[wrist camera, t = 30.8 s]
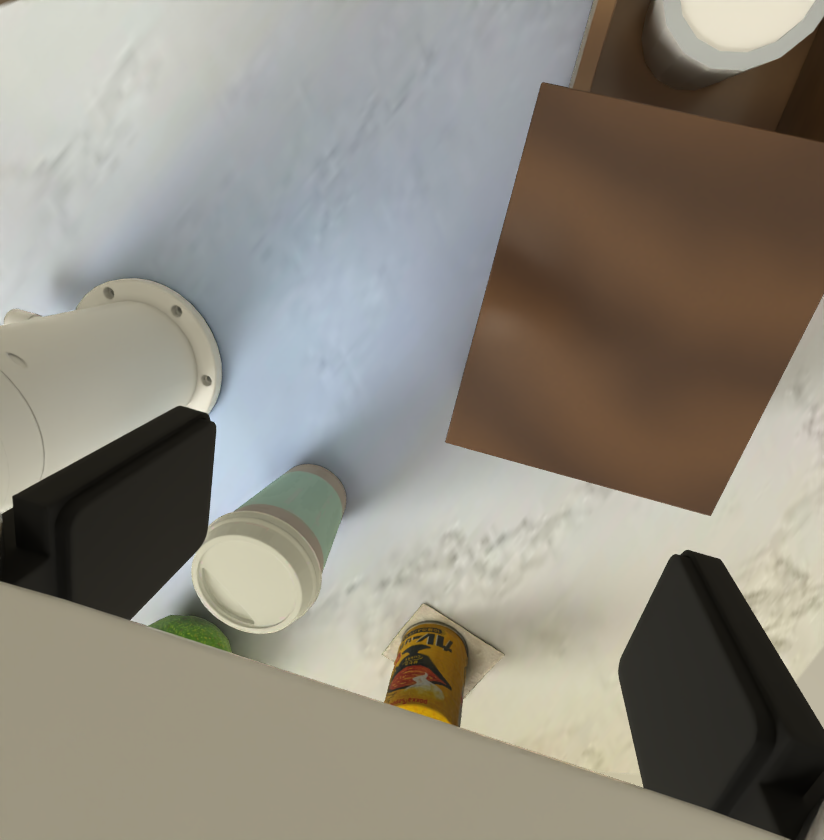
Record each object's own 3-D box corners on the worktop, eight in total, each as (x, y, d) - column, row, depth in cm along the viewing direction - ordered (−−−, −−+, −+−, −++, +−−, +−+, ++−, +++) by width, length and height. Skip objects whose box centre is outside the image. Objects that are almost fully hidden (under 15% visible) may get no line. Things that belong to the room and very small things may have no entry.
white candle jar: (804, 9, 27) (896, -58, 20) (693, 132, 29) (742, 107, 23) (705, -89, 26) (767, -190, 20) (600, 45, 29) (625, -5, 22)
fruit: (209, 717, 56) (149, 814, 47) (129, 665, 56) (52, 754, 47) (272, 631, 50) (218, 722, 41) (183, 573, 50) (108, 653, 41)
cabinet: (534, 120, 32) (541, 81, 23) (784, 175, 31) (894, 156, 22) (461, 391, 39) (444, 442, 30) (664, 446, 38) (710, 516, 29)
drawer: (652, -269, 25) (708, -469, 18) (955, -223, 24) (1146, -417, 17) (518, 214, 33) (519, 213, 26) (739, 266, 32) (804, 280, 25)
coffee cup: (255, 449, 44) (167, 526, 33) (355, 446, 42) (297, 526, 31) (275, 539, 47) (200, 638, 36) (369, 540, 45) (321, 644, 34)
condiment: (423, 601, 46) (394, 721, 35) (505, 653, 46) (501, 788, 35) (381, 652, 49) (342, 778, 38) (459, 700, 49) (442, 839, 38)
